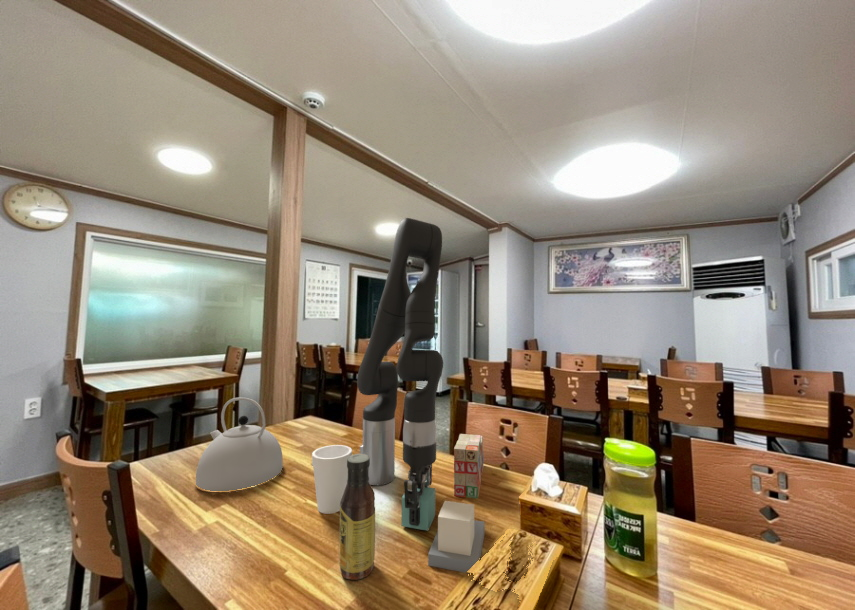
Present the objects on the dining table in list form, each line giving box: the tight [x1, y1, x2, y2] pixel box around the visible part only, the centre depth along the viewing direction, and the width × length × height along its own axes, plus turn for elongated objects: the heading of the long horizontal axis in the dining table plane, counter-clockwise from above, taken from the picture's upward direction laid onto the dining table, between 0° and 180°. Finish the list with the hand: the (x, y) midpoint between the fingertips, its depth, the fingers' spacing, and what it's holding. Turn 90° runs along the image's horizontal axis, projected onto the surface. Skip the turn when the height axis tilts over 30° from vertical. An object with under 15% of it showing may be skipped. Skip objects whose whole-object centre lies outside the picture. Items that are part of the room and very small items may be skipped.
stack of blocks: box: [453, 433, 484, 499], centre depth 96 cm, size 21×6×12 cm, turn 167°
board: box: [427, 519, 486, 574], centre depth 66 cm, size 9×13×2 cm
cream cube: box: [437, 500, 475, 556], centre depth 65 cm, size 6×6×6 cm
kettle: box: [195, 397, 284, 491], centre depth 101 cm, size 25×23×22 cm
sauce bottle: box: [338, 453, 376, 581], centre depth 60 cm, size 6×6×20 cm
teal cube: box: [400, 487, 436, 532], centre depth 75 cm, size 6×6×6 cm
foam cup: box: [311, 444, 353, 515], centre depth 82 cm, size 10×9×13 cm
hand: (419, 515), depth 74 cm, fingers closed on teal cube, 6 cm apart
